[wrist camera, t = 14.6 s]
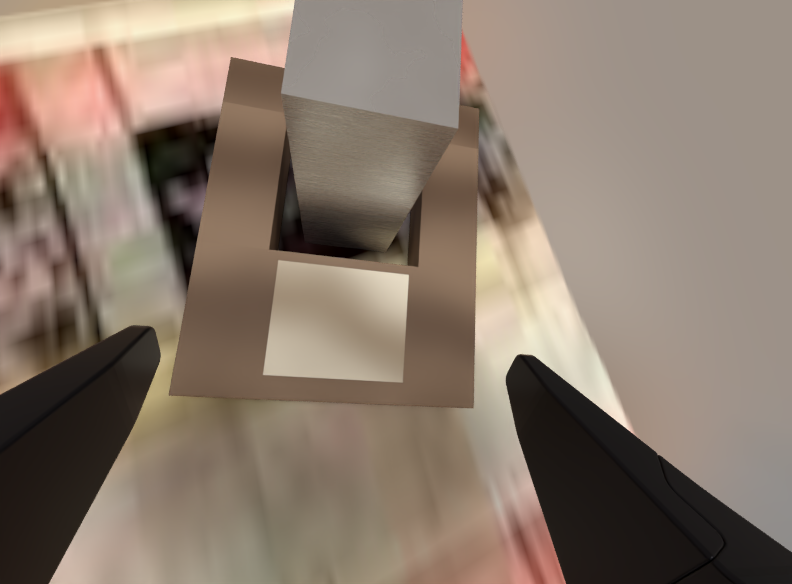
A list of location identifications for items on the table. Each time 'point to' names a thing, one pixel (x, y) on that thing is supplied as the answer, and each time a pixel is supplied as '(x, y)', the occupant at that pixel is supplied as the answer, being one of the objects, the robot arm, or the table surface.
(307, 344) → the hole board
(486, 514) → the table surface
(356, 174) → the steel peg
